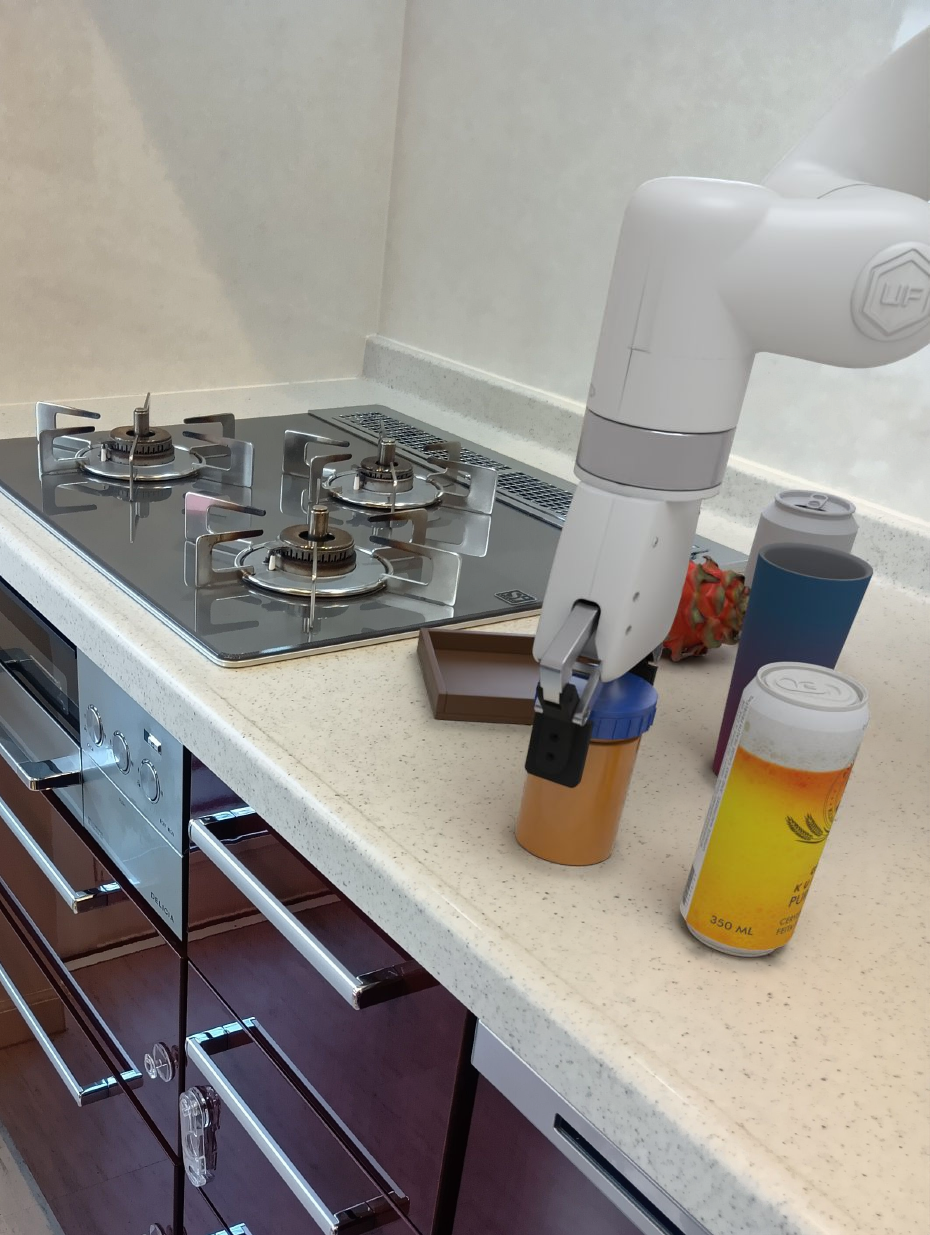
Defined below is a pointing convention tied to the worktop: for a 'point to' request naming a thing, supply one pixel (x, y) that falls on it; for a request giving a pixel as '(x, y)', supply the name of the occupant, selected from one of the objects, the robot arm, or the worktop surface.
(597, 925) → the worktop surface
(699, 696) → the worktop surface
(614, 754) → the jar
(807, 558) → the cup
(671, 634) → the dragon fruit
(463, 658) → the tray
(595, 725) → the lid
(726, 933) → the beer can
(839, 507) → the can
